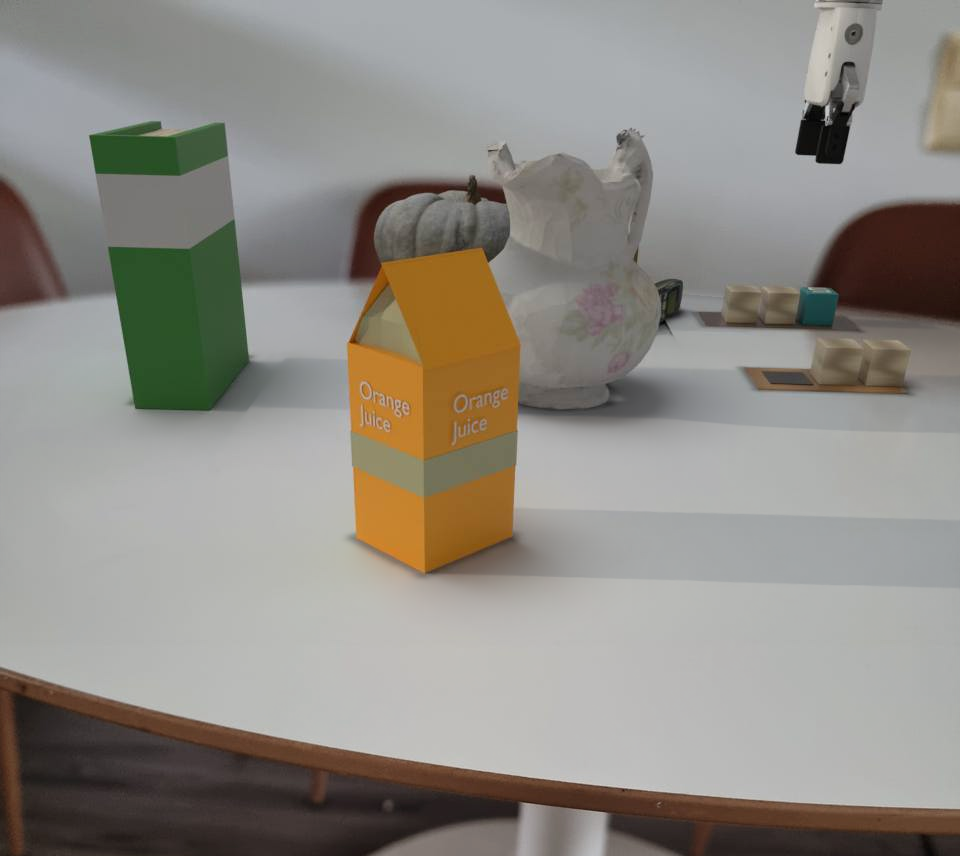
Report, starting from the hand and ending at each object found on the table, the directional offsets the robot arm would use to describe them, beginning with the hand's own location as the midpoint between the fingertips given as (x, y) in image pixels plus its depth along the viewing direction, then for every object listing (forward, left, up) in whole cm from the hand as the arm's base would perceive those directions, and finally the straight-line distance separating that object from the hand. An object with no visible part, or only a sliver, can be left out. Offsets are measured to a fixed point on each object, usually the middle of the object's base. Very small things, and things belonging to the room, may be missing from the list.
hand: (817, 159), depth 121 cm
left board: (+2, +1, -20) cm, 20 cm away
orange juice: (+43, +71, -20) cm, 85 cm away
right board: (+3, +28, -20) cm, 35 cm away
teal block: (-3, +1, -20) cm, 20 cm away
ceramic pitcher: (+32, +34, -20) cm, 51 cm away
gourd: (+44, -5, -20) cm, 49 cm away
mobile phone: (+18, +1, -20) cm, 27 cm away
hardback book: (+71, +34, -20) cm, 81 cm away
